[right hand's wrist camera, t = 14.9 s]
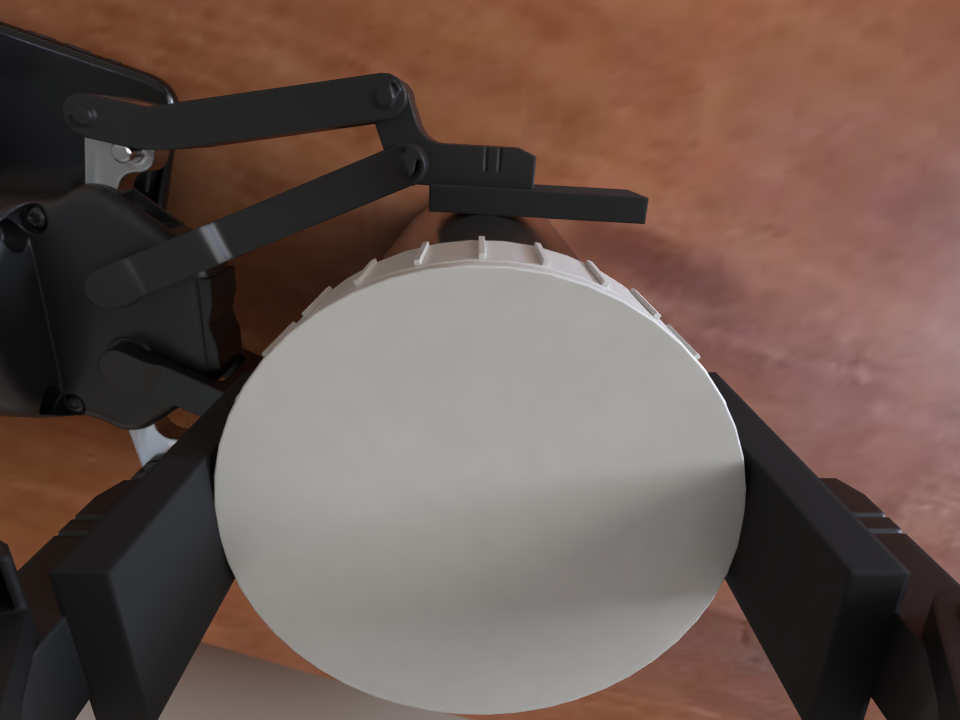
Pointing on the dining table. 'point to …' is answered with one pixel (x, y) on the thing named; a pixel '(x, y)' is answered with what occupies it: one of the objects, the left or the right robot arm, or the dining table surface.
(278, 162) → the dining table surface
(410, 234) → the jar
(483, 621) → the lid
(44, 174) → the smartphone
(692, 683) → the dining table surface
